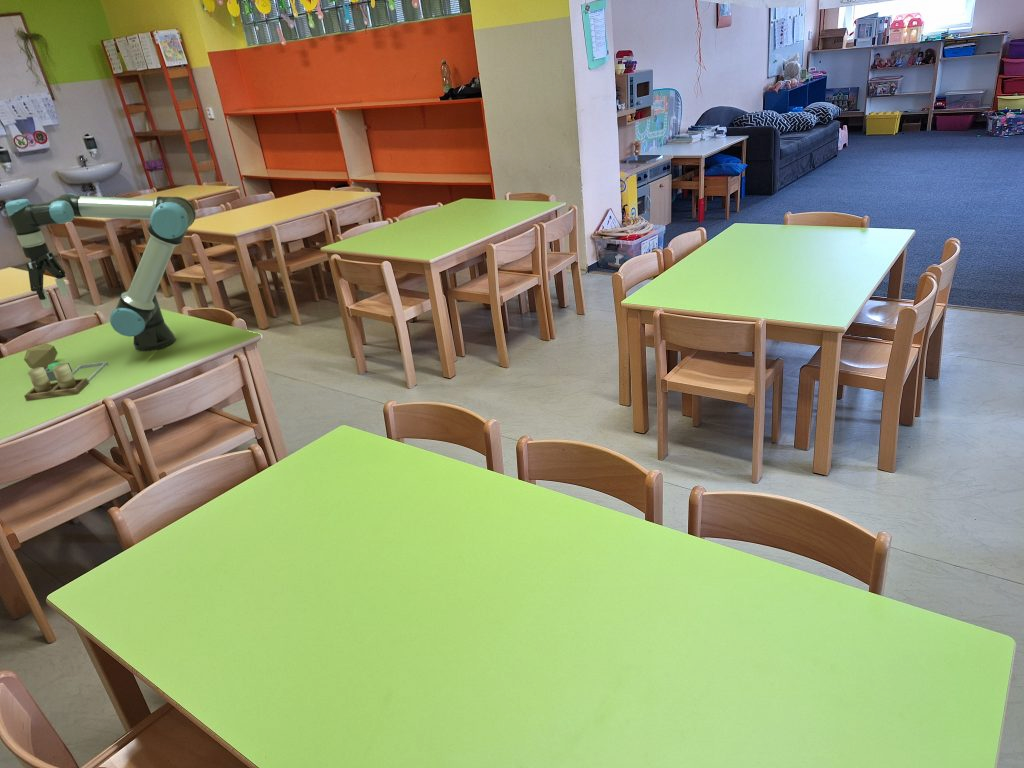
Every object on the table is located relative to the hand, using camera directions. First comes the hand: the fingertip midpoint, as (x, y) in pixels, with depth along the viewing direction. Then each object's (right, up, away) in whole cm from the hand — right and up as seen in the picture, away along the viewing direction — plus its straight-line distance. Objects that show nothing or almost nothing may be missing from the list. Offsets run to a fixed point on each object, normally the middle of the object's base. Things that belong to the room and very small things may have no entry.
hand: (56, 301), depth 262 cm
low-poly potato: (-13, -24, +16) cm, 32 cm away
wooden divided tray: (+7, -34, -10) cm, 36 cm away
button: (-1, -28, +3) cm, 28 cm away
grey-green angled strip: (+9, -27, +3) cm, 29 cm away
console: (-1, -28, +3) cm, 29 cm away
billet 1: (+3, -34, -10) cm, 35 cm away
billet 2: (+11, -32, -10) cm, 36 cm away
